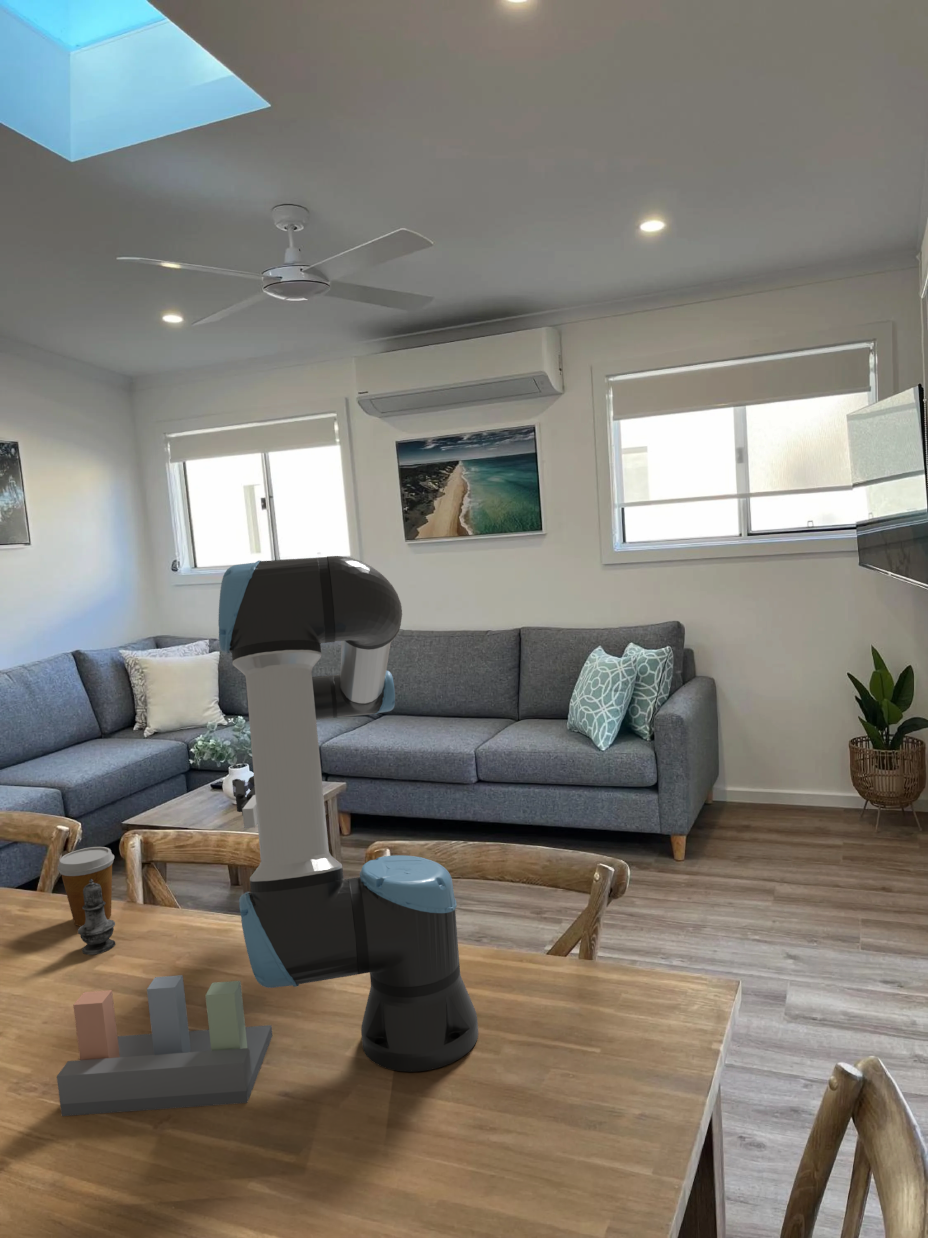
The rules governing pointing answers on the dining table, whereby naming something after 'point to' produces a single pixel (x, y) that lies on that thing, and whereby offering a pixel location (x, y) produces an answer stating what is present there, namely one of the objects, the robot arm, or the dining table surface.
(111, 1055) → the salmon pink block
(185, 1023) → the blue-grey upright block
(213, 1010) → the green rectangular block
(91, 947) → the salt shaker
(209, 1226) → the dining table surface
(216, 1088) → the dark grey block holder
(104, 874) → the disposable coffee cup
